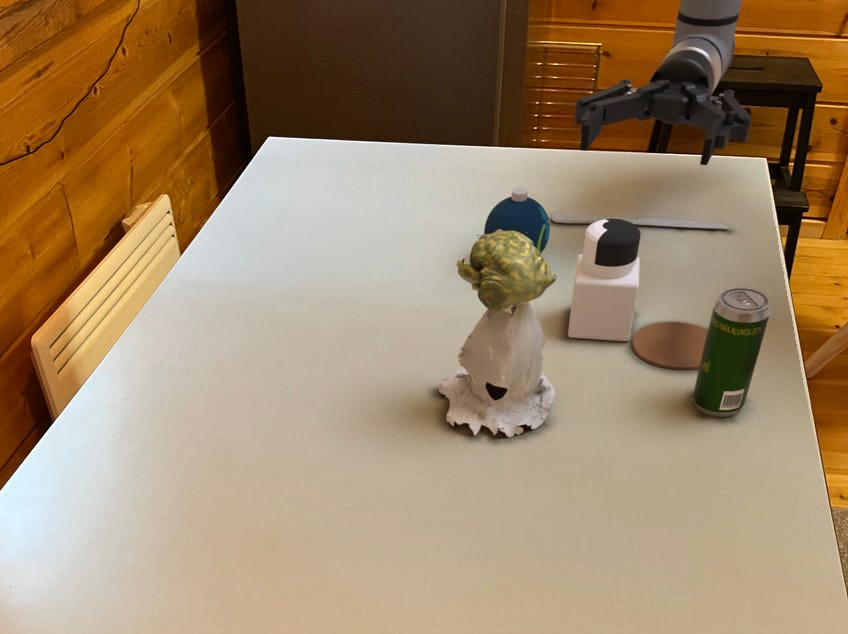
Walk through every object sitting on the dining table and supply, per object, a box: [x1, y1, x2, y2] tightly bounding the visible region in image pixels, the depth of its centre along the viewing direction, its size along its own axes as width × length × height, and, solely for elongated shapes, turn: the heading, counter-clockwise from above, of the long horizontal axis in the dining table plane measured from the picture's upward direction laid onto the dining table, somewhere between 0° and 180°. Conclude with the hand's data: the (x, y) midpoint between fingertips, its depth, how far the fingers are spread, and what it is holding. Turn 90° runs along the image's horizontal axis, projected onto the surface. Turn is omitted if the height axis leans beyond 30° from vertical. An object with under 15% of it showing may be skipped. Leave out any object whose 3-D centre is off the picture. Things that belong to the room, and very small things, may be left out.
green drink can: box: [692, 286, 772, 418], centre depth 98 cm, size 5×5×12 cm
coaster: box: [631, 321, 708, 371], centre depth 111 cm, size 10×10×1 cm
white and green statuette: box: [438, 229, 557, 438], centre depth 98 cm, size 12×13×18 cm
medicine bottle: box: [567, 219, 642, 342], centre depth 111 cm, size 7×7×12 cm
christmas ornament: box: [483, 184, 551, 255], centre depth 123 cm, size 8×8×10 cm
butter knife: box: [550, 211, 730, 230], centre depth 133 cm, size 1×24×3 cm
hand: (644, 145), depth 107 cm, fingers open, 13 cm apart
